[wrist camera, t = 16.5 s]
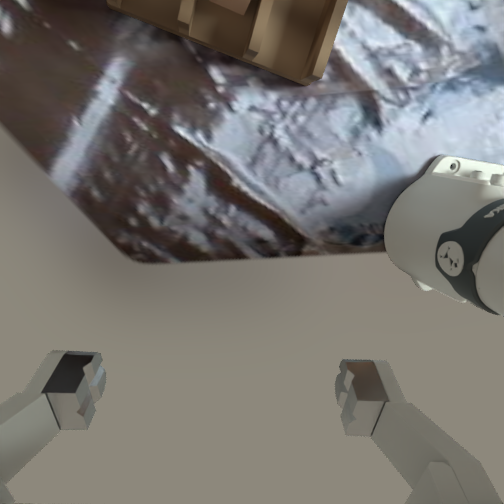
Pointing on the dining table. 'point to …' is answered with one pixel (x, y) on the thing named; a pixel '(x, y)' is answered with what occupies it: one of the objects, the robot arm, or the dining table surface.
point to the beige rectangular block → (234, 5)
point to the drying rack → (252, 30)
